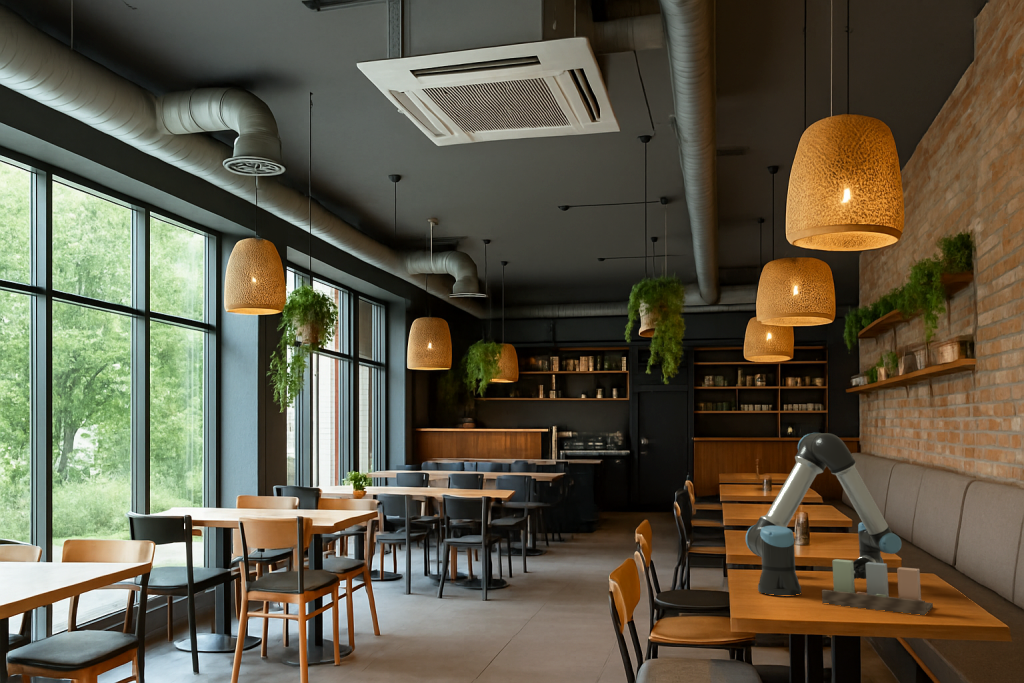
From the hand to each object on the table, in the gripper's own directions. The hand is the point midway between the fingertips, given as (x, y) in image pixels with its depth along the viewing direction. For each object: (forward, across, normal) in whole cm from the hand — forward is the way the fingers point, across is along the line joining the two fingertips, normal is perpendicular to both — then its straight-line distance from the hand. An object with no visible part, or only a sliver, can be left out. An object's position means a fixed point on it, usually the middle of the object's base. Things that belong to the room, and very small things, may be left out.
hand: (848, 577), depth 288 cm
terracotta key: (+9, -21, -6) cm, 24 cm away
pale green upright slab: (+4, +1, -6) cm, 7 cm away
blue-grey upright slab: (+4, -10, -6) cm, 13 cm away
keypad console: (+6, -10, -7) cm, 14 cm away
